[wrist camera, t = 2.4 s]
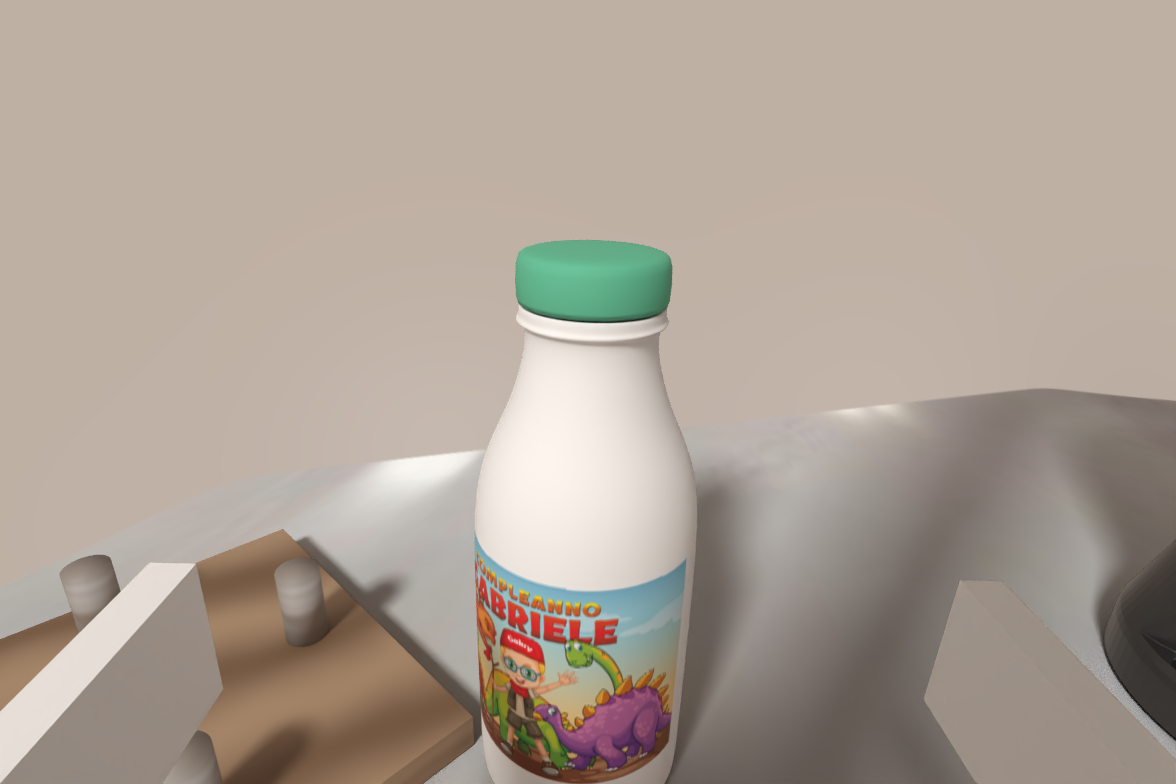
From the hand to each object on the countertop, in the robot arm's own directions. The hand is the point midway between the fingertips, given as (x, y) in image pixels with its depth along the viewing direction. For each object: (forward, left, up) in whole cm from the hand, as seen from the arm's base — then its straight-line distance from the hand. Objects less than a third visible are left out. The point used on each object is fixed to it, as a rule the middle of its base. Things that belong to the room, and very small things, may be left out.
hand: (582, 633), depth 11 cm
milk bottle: (+7, -7, -15) cm, 18 cm away
